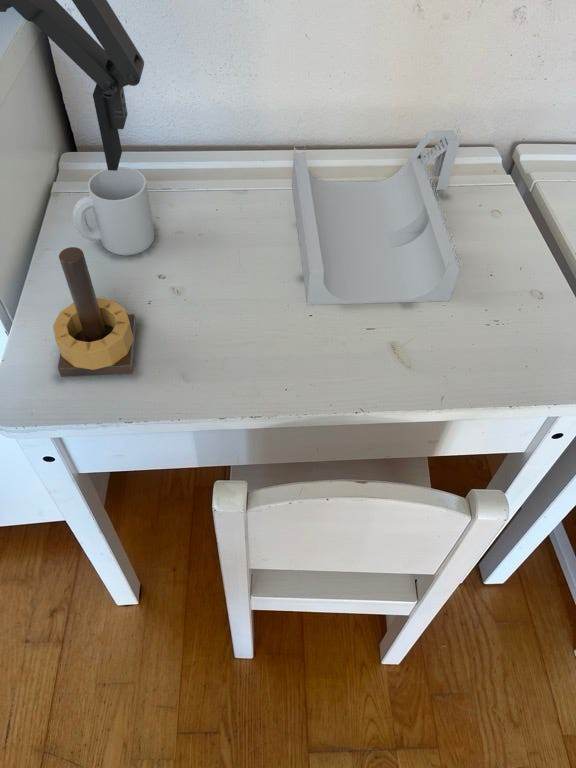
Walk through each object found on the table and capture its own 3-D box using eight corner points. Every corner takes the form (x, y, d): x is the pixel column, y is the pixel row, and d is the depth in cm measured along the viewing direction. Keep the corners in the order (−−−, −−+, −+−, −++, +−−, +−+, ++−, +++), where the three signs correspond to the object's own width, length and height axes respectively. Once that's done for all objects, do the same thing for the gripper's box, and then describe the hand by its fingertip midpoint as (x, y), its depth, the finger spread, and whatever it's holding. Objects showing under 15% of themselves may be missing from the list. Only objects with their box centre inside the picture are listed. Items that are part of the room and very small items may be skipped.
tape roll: (45, 343, 73) (38, 326, 71) (101, 305, 77) (96, 287, 74) (91, 381, 70) (86, 364, 68) (147, 339, 74) (143, 321, 71)
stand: (60, 376, 72) (23, 284, 60) (69, 324, 77) (36, 229, 65) (132, 373, 73) (108, 281, 61) (136, 322, 77) (115, 227, 66)
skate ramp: (292, 185, 95) (295, 123, 87) (439, 183, 97) (456, 122, 89) (307, 304, 80) (312, 243, 72) (481, 300, 82) (505, 239, 74)
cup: (161, 249, 86) (153, 193, 78) (88, 267, 83) (72, 212, 76) (147, 217, 89) (137, 161, 82) (76, 234, 87) (59, 178, 80)
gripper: (158, -174, 39) (186, 139, 56) (-257, -199, 38) (-102, 127, 55) (143, -139, 35) (178, 190, 52) (-330, -166, 34) (-136, 179, 50)
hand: (33, 158), depth 53 cm, fingers open, 13 cm apart
